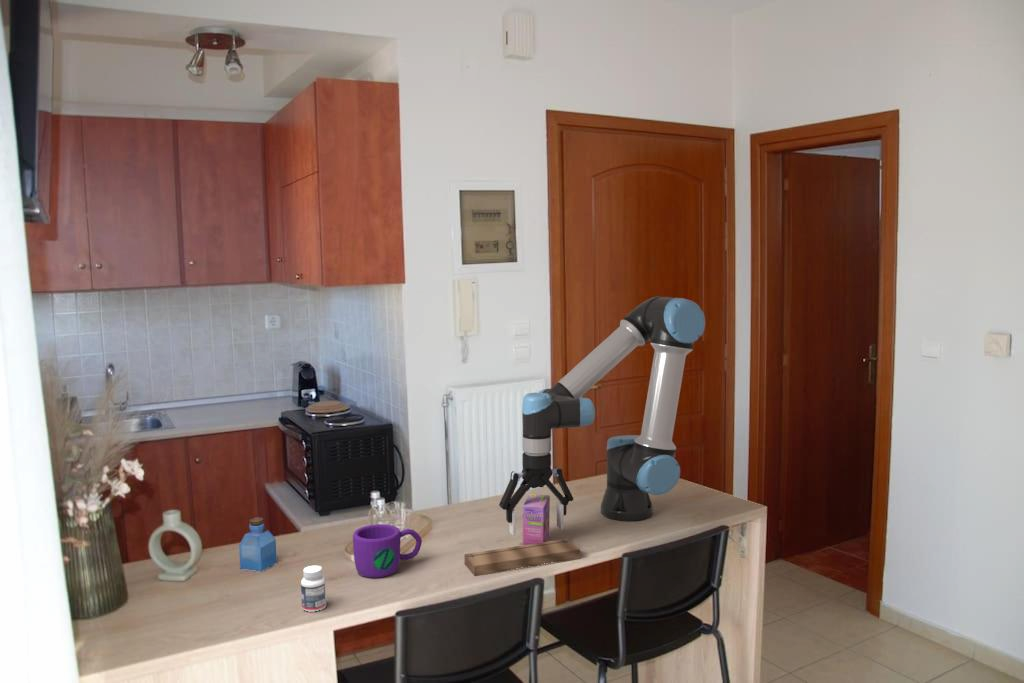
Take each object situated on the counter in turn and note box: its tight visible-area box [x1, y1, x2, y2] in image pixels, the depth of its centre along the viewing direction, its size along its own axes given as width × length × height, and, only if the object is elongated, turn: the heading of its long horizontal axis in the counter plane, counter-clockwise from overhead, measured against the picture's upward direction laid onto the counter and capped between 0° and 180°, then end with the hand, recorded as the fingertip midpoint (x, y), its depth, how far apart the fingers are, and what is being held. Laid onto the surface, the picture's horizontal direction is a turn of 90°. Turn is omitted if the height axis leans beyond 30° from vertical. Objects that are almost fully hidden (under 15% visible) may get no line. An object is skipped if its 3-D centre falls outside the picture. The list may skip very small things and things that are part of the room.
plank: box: [463, 538, 581, 577], centre depth 200 cm, size 28×8×3 cm, turn 111°
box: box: [522, 493, 551, 545], centre depth 212 cm, size 10×6×12 cm, turn 168°
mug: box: [352, 523, 423, 579], centre depth 196 cm, size 17×11×10 cm, turn 119°
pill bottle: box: [300, 564, 327, 613], centre depth 175 cm, size 5×5×9 cm
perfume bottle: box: [238, 517, 278, 572], centre depth 198 cm, size 6×6×12 cm
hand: (536, 530), depth 211 cm, fingers open, 13 cm apart
